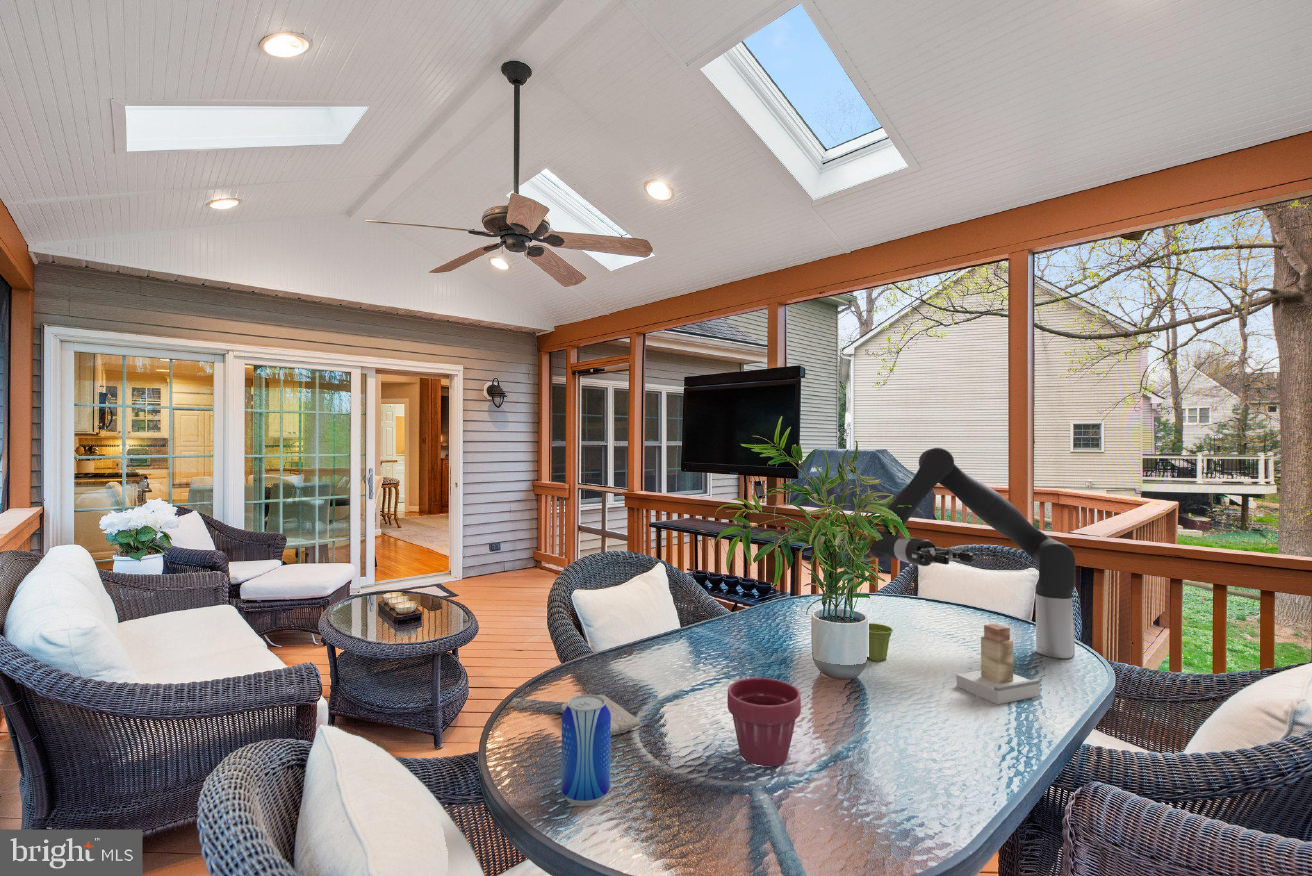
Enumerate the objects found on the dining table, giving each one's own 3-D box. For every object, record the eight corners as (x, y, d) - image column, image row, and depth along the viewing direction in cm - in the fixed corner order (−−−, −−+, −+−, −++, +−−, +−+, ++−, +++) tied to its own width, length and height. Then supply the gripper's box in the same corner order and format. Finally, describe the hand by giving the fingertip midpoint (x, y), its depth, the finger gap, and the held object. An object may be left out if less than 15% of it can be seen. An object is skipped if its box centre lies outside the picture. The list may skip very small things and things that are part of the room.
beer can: (562, 783, 112) (563, 693, 112) (609, 781, 112) (610, 691, 113) (559, 810, 103) (560, 712, 104) (610, 808, 104) (611, 711, 104)
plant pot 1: (785, 783, 112) (785, 711, 113) (714, 762, 120) (715, 694, 120) (810, 750, 124) (810, 685, 125) (745, 733, 132) (745, 672, 132)
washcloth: (601, 703, 149) (601, 690, 149) (643, 731, 134) (643, 716, 134) (555, 715, 142) (555, 701, 142) (594, 745, 127) (594, 730, 127)
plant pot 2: (887, 653, 185) (887, 623, 185) (896, 664, 176) (896, 632, 176) (855, 652, 186) (855, 622, 186) (862, 662, 177) (862, 631, 177)
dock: (996, 679, 164) (996, 664, 164) (1039, 696, 153) (1039, 680, 153) (956, 686, 159) (956, 671, 159) (997, 704, 148) (997, 688, 148)
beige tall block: (995, 674, 159) (995, 622, 160) (1013, 681, 155) (1013, 628, 155) (981, 676, 158) (980, 624, 158) (998, 683, 153) (998, 630, 153)
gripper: (894, 539, 179) (939, 547, 164) (932, 536, 185) (979, 543, 170) (895, 565, 179) (940, 575, 164) (933, 562, 185) (980, 571, 169)
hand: (960, 559), depth 167 cm, fingers open, 8 cm apart
